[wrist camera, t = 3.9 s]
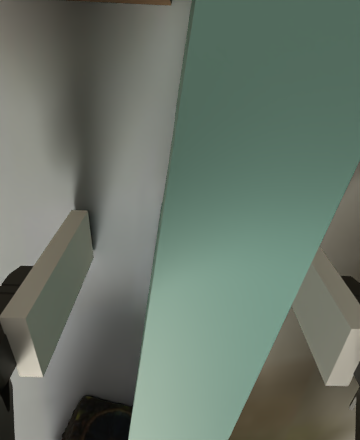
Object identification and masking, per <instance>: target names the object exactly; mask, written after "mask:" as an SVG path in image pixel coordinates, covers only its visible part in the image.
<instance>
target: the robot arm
mask: <svg viewBox="0 0 360 440" xmlns="http://www.w3.org/2000/svg"><path fill="white" fill-rule="evenodd" d="M93 258H94V256H93V248H92V240H91V232H90V224H89V216H88V211H83V210H71V212H70V213H69V215H68V216H67V218H66V219H65V221H64V222H63V224H62V225H61V227H60V228H59V230H58V231H57V233H56V234H55V235H54V237H53V238H52V240H51V241H50V243H49V244H48V246H47V247H46V249H45V250H44V252H43V253H42V255H41V256H40V258H39V259H38V260H37V262H36V263H35V265H34V266H20V267H19V268H17V269H16V270H14V271H13V272H12V273H10V274H9V275H8V276H7V278H6V279H5V280H4V282H3V283H2V286H0V440H15V433H14V410H13V387H12V383H11V380H10V377H11V375H12V373H13V371H14V369H15V367H17V370H18V373H19V375H20V377H43V376H44V374H45V372H46V369H47V367H48V365H49V362H50V360H51V357H52V355H53V353H54V350H55V348H56V346H57V343H58V341H59V338H60V336H61V334H62V331H63V329H64V327H65V324H66V322H67V319H68V317H69V315H70V312H71V310H72V308H73V305H74V303H75V300H76V298H77V296H78V293H79V291H80V289H81V286H82V284H83V281H84V279H85V277H86V274H87V272H88V270H89V267H90V265H91V263H92V260H93ZM291 306H292V308H293V310H294V313H295V315H296V317H297V320H298V322H299V324H300V327H301V329H302V331H303V334H304V336H305V339H306V341H307V343H308V346H309V348H310V350H311V353H312V355H313V357H314V360H315V362H316V364H317V367H318V369H319V371H320V374H321V376H322V379H323V381H324V383H325V386H348V385H349V383H350V381H351V380H352V378H353V376H355V378H356V380H357V382H358V384H359V386H360V283H359V282H357V281H356V280H355V279H354V278H352V277H351V276H340V275H339V274H338V272H337V271H336V269H335V268H334V266H333V265H332V263H331V262H330V261H329V259H328V258H327V256H326V255H325V253H324V252H323V250H322V249H321V248H320V246H319V248H318V250H317V252H316V254H315V257H314V259H313V261H312V263H311V265H310V267H309V269H308V271H307V274H306V276H305V278H304V280H303V282H302V284H301V286H300V288H299V291H298V293H297V295H296V297H295V299H294V301H293V303H292V305H291ZM355 405H356V433H355V440H360V387H359V389H358V391H357V393H356V394H355V396H354V398H353V400H352V402H351V404H350V407H349V409H350V410H353V409H354V407H355Z"/></svg>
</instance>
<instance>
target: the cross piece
mask: <svg viewBox="0 0 360 440" xmlns="http://www.w3.org/2000/svg"><path fill="white" fill-rule="evenodd" d="M359 161H360V0H192V4H191V11H190V17H189V24H188V31H187V37H186V44H185V51H184V58H183V64H182V71H181V78H180V85H179V91H178V98H177V105H176V113H175V122H174V131H173V137H172V144H171V151H170V157H169V164H168V171H167V177H166V184H165V191H164V197H163V204H162V206H161V213H160V219H159V226H158V233H157V239H156V246H155V253H154V260H153V266H152V273H151V280H150V287H149V294H148V301H147V308H146V316H145V323H144V330H143V337H142V344H141V351H140V359H139V366H138V373H137V380H136V387H135V394H134V402H133V409H132V416H131V423H130V430H129V437H128V440H228V439H229V437H230V435H231V433H232V431H233V428H234V426H235V424H236V422H237V420H238V418H239V416H240V414H241V411H242V409H243V407H244V405H245V403H246V401H247V399H248V397H249V394H250V392H251V390H252V388H253V386H254V384H255V382H256V380H257V378H258V375H259V373H260V371H261V369H262V367H263V365H264V363H265V361H266V358H267V356H268V354H269V352H270V350H271V348H272V346H273V344H274V341H275V339H276V337H277V335H278V333H279V331H280V329H281V327H282V324H283V322H284V320H285V318H286V316H287V314H288V312H289V310H290V307H291V305H292V303H293V301H294V299H295V297H296V295H297V293H298V291H299V288H300V286H301V284H302V282H303V280H304V278H305V276H306V274H307V271H308V269H309V267H310V265H311V263H312V261H313V259H314V257H315V254H316V252H317V250H318V248H319V246H320V244H321V242H322V240H323V237H324V235H325V233H326V231H327V229H328V227H329V225H330V223H331V220H332V218H333V216H334V214H335V212H336V210H337V208H338V206H339V204H340V201H341V199H342V197H343V195H344V193H345V191H346V189H347V187H348V184H349V182H350V180H351V178H352V176H353V174H354V172H355V170H356V167H357V165H358V163H359Z"/></svg>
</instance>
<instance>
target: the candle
mask: <svg viewBox="0 0 360 440" xmlns="http://www.w3.org/2000/svg"><path fill="white" fill-rule="evenodd" d="M132 409H133V407H130V406H125V405H123V404H116V403H111V402H108V401H105V400H101V399H98V398H95V397H90V396H85V397H83V398H82V399H81V401H80V402H79V404H78V405H77V408H76V409H75V410H74V412H73V415H72V417H71V419H70V421H69V423H68V427H67V428H66V430H65V432H64V433H63V434H62V440H128V437H129V430H130V423H131V416H132Z"/></svg>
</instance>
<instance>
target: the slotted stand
mask: <svg viewBox="0 0 360 440" xmlns="http://www.w3.org/2000/svg"><path fill="white" fill-rule="evenodd" d="M68 1H89V2H110V3H131V4H152V5H171V0H68Z"/></svg>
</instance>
